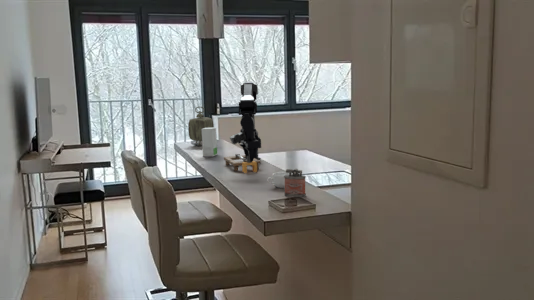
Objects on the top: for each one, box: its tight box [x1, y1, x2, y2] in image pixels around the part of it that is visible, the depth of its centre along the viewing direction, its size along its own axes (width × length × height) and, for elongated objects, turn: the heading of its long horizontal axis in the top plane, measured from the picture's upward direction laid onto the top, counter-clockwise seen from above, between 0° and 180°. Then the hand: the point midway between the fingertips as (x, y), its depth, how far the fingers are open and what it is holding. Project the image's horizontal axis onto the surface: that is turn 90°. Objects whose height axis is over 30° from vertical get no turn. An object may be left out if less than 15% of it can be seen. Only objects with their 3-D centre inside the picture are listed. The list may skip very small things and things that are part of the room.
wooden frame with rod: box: [223, 154, 261, 172], centre depth 247 cm, size 20×13×4 cm, turn 18°
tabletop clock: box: [187, 106, 215, 146], centre depth 323 cm, size 14×9×25 cm, turn 66°
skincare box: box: [201, 126, 218, 158], centre depth 283 cm, size 8×7×16 cm
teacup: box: [267, 171, 293, 189], centre depth 201 cm, size 10×8×5 cm
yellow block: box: [241, 156, 258, 174], centre depth 233 cm, size 4×6×8 cm, turn 108°
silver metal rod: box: [234, 153, 247, 162], centre depth 246 cm, size 16×2×1 cm, turn 18°
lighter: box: [284, 168, 307, 198], centre depth 186 cm, size 8×3×10 cm, turn 71°
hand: (249, 160), depth 233 cm, fingers open, 6 cm apart
